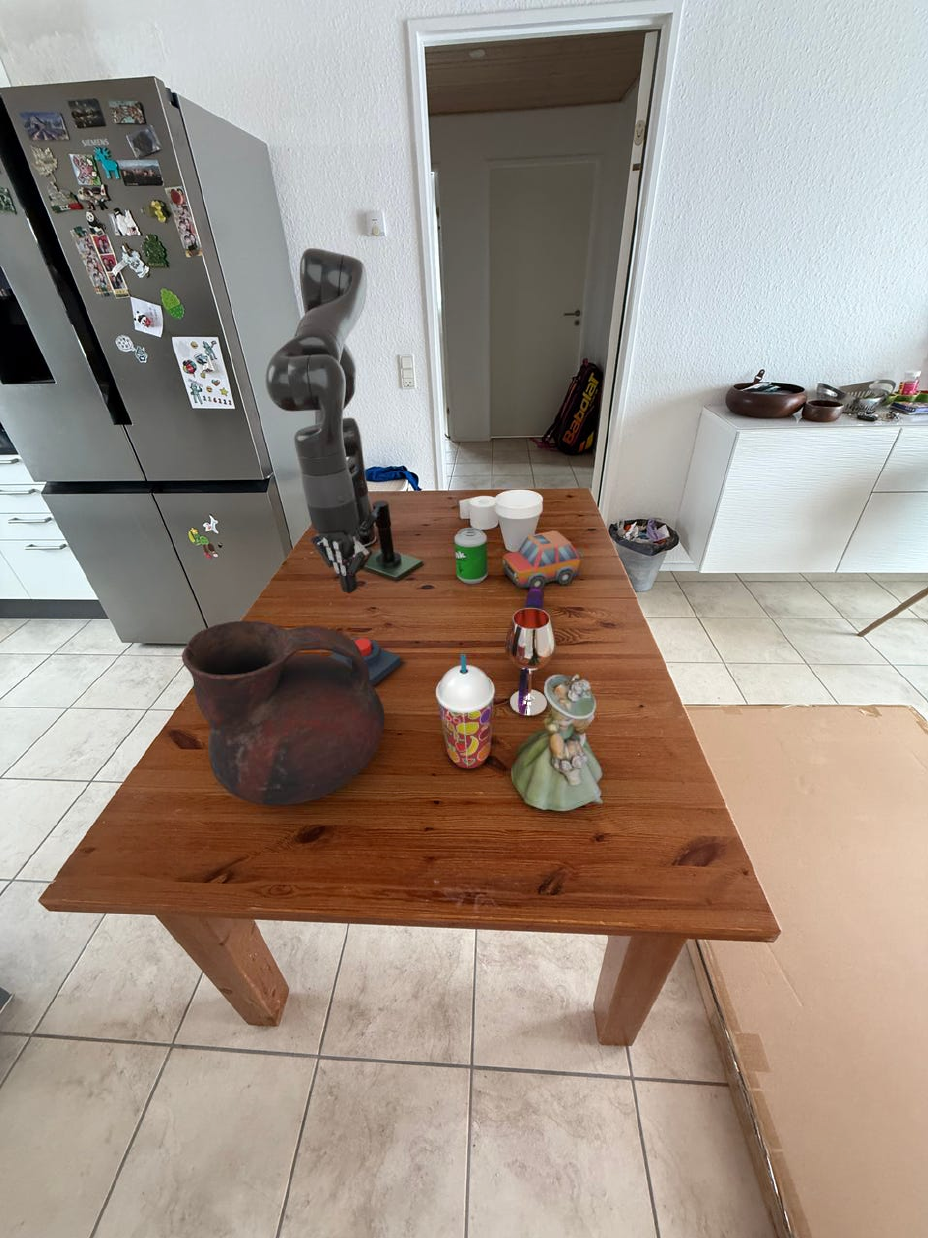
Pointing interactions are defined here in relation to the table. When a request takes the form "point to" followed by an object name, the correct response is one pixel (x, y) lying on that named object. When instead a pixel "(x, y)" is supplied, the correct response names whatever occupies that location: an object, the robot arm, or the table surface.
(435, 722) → the table surface
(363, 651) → the button
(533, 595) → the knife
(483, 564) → the soda can
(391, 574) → the tap base
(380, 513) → the spout
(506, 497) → the cup
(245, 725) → the jug
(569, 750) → the figurine
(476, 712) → the smoothie
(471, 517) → the toilet paper
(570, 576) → the toy car
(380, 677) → the button box
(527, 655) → the wineglass
